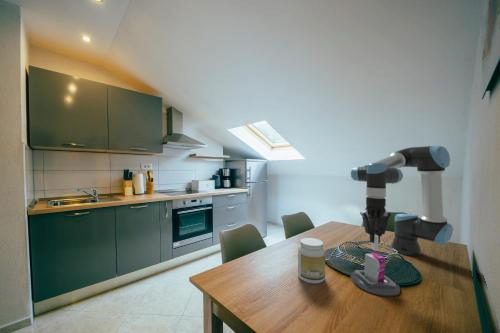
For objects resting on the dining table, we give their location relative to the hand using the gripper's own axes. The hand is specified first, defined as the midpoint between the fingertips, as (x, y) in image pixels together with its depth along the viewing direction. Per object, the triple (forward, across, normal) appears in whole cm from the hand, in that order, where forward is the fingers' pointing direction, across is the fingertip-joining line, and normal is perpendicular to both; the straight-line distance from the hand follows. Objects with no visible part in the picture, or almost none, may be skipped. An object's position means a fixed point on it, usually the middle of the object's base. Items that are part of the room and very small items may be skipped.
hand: (374, 249), depth 93 cm
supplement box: (+14, 0, 0) cm, 14 cm away
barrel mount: (+15, 0, 0) cm, 15 cm away
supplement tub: (+16, +27, -5) cm, 31 cm away
